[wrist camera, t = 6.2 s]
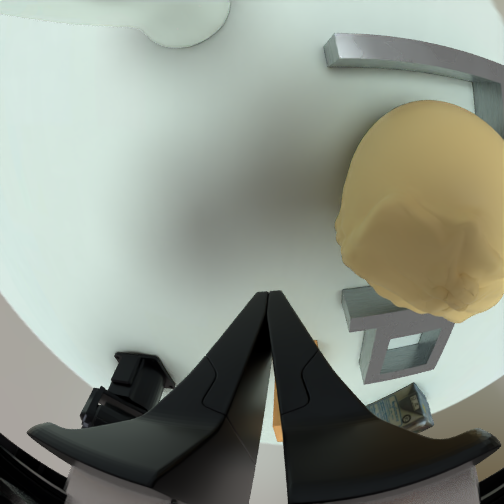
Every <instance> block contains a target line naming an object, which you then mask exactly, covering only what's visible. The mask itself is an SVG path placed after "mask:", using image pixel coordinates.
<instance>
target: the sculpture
mask: <svg viewBox="0 0 504 504" xmlns="http://www.w3.org/2000/svg"><path fill="white" fill-rule="evenodd" d="M335 230H336V232H337V233H336V241H337V243H338V244H339V245H340V246H341V255H342V261H343V263H344V264H345V265H346V266H347V267H349V268H350V269H351V270H352V271H353V272H354V273H355V274H357V275H358V276H359V277H361V278H363V279H365V280H366V281H367V282H368V284H369V285H371V286H372V287H373V288H374V290H375V291H376V292H377V294H378V295H380V296H381V297H383V298H386V299H388V300H390V301H391V302H392V303H393V304H394V305H396V306H397V307H404V308H407V309H410V310H412V311H414V312H416V313H418V314H426V313H429V314H432V315H434V316H439V317H444V318H445V319H447V320H448V321H450V322H453V323H461V322H463V321H465V320H466V319H468V318H470V317H471V316H473V315H475V314H478V313H481V312H484V311H486V310H488V309H490V308H492V307H493V306H495V305H496V304H497V303H498V302H499V300H500V299H501V298H502V296H503V294H504V140H503V139H502V137H501V136H500V135H499V134H498V133H497V132H496V131H495V130H494V129H493V128H492V127H491V126H490V125H489V124H487V123H486V122H485V121H484V120H482V119H481V118H479V117H478V116H476V115H475V114H473V113H471V112H470V111H468V110H466V109H464V108H461V107H459V106H456V105H454V104H450V103H447V102H442V101H435V100H421V101H414V102H410V103H407V104H404V105H401V106H399V107H397V108H395V109H393V110H391V111H390V112H388V113H387V114H385V115H384V116H383V117H381V118H380V119H379V120H378V121H377V122H376V123H375V124H374V125H373V126H372V127H371V128H370V129H369V131H368V132H367V133H366V134H365V136H364V137H363V139H362V140H361V142H360V144H359V145H358V147H357V149H356V151H355V153H354V156H353V158H352V161H351V164H350V167H349V170H348V174H347V177H346V180H345V184H344V188H343V193H342V201H341V208H340V212H339V215H338V217H337V219H336V221H335Z"/></svg>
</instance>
